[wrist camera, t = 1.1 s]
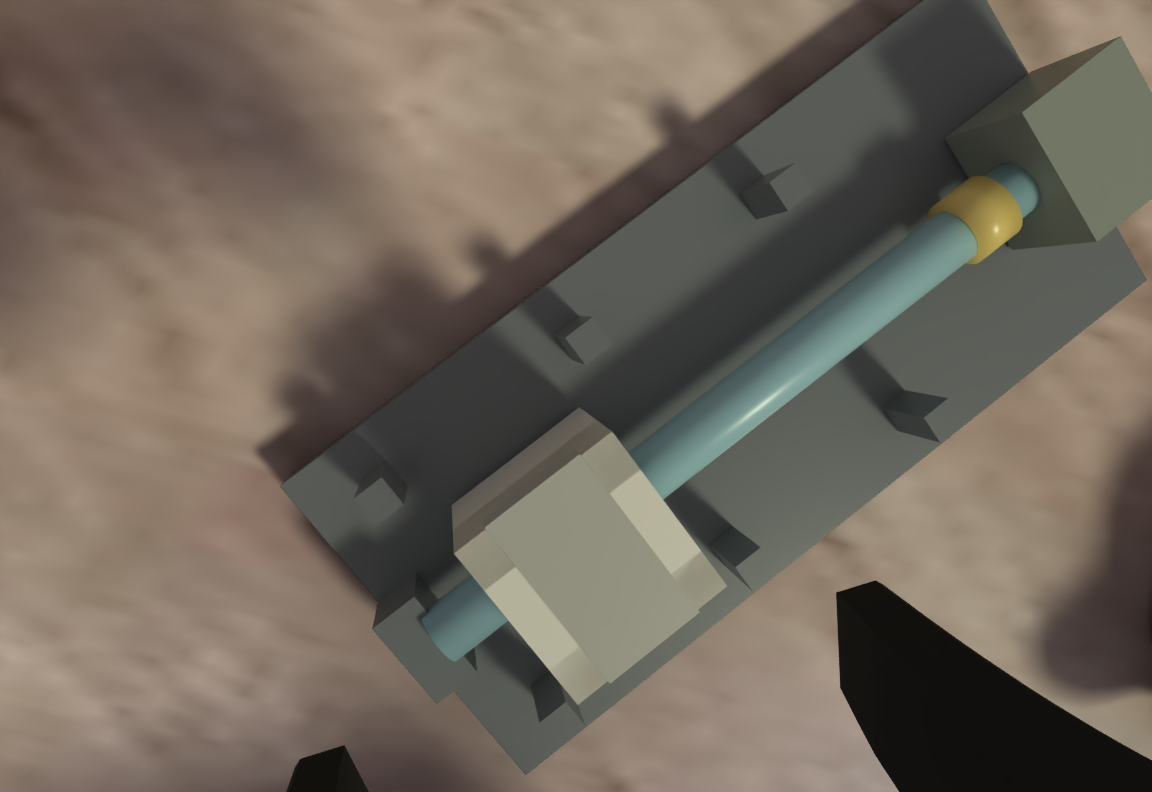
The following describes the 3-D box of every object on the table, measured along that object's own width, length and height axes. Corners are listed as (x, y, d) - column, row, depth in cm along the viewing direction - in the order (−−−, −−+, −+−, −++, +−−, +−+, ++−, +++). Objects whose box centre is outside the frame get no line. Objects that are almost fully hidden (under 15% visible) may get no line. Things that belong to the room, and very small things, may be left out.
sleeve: (553, 631, 21) (579, 707, 17) (450, 504, 21) (452, 552, 17) (675, 535, 22) (729, 588, 18) (578, 405, 21) (611, 429, 17)
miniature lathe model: (521, 755, 23) (538, 849, 19) (287, 477, 21) (250, 518, 17) (1118, 280, 24) (1251, 275, 20) (944, -18, 23) (1053, -88, 19)
